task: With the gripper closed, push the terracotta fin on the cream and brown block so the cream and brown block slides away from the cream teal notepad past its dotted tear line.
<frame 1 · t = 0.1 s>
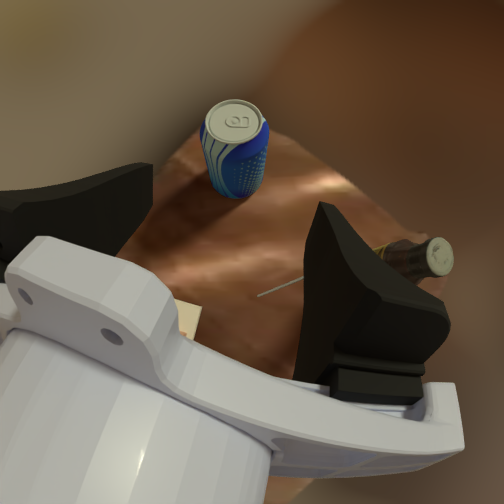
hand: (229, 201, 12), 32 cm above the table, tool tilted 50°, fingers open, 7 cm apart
beer can: (236, 178, 46), on the table
sauce bottle: (365, 274, 44), on the table
cream and brown block: (152, 313, 40), point 2 cm above the table, slide at 0.0 cm
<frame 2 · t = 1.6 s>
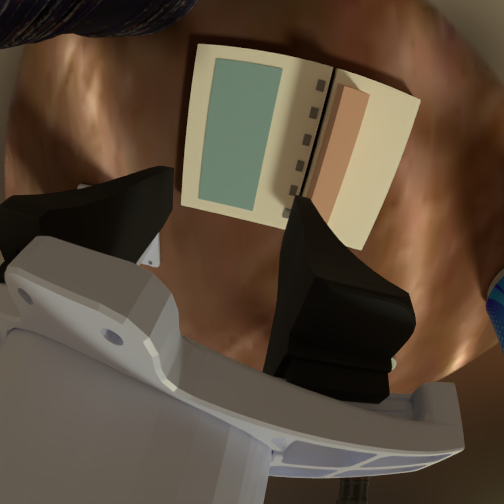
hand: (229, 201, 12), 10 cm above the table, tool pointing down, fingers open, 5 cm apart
cream teal notepad: (250, 135, 20), on the table
sauce bottle: (358, 382, 38), on the table
cream and brown block: (357, 172, 18), point 2 cm above the table, slide at 0.0 cm
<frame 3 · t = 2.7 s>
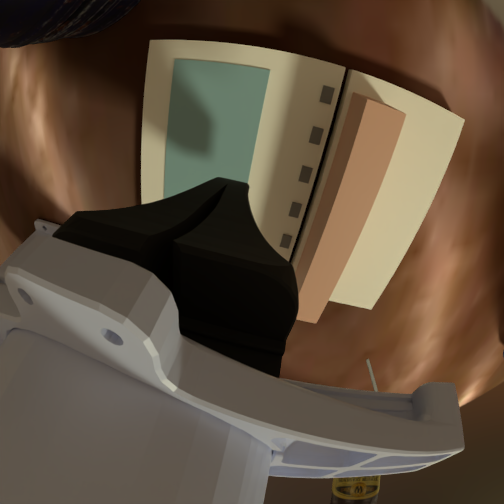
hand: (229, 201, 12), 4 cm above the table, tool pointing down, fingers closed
cream teal notepad: (226, 165, 15), on the table
sauce bottle: (358, 421, 33), on the table
cream and brown block: (374, 222, 13), point 2 cm above the table, slide at 0.0 cm
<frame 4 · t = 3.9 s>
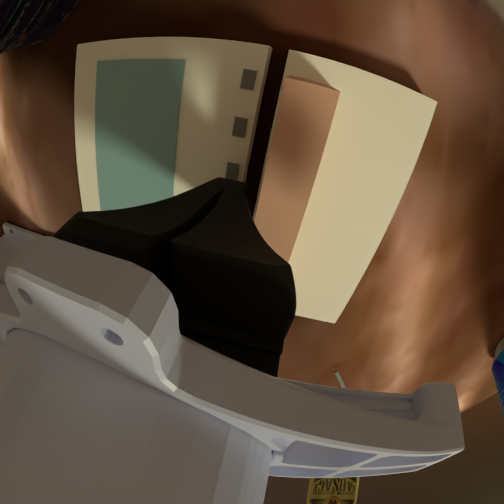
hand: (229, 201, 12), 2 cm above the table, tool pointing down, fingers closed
cream teal notepad: (158, 166, 13), on the table
sauce bottle: (338, 431, 32), on the table
cream and brown block: (324, 227, 12), point 2 cm above the table, slide at 0.4 cm, touching gripper
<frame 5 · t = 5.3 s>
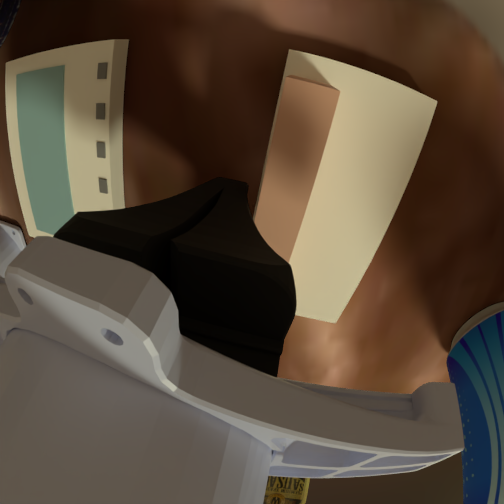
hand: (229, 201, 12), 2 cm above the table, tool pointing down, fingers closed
beer can: (485, 329, 17), on the table
cream teal notepad: (64, 153, 14), on the table
sauce bottle: (291, 426, 32), on the table
cream and brown block: (324, 227, 12), point 2 cm above the table, slide at 7.1 cm, touching gripper
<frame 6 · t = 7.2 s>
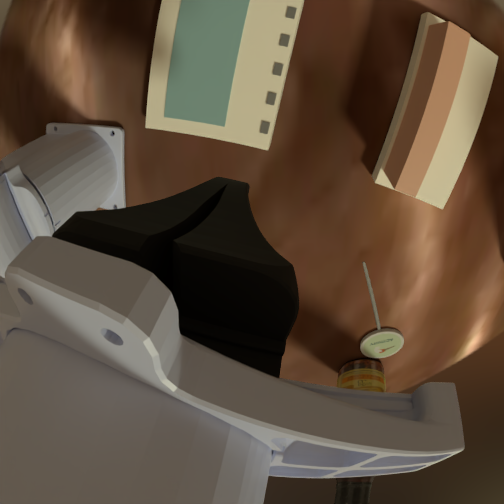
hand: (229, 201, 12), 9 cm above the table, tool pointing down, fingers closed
cream teal notepad: (222, 45, 15), on the table
sauce bottle: (359, 367, 33), on the table
cream and brown block: (449, 117, 13), point 2 cm above the table, slide at 7.2 cm
dial probe thermometer: (376, 311, 28), on the table
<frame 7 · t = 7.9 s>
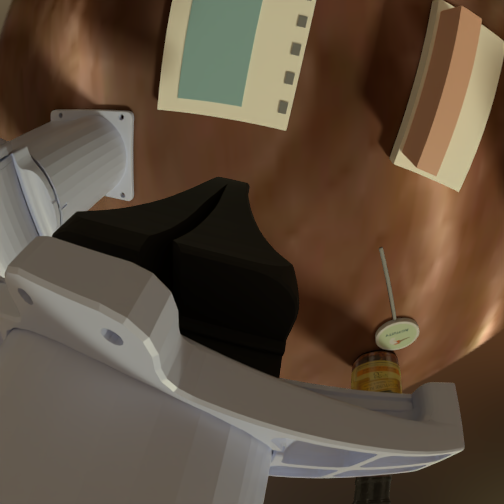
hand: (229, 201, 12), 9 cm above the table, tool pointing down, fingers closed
cream teal notepad: (238, 27, 14), on the table
sauce bottle: (373, 360, 32), on the table
cream and brown block: (464, 98, 12), point 2 cm above the table, slide at 7.2 cm
dial probe thermometer: (391, 301, 27), on the table
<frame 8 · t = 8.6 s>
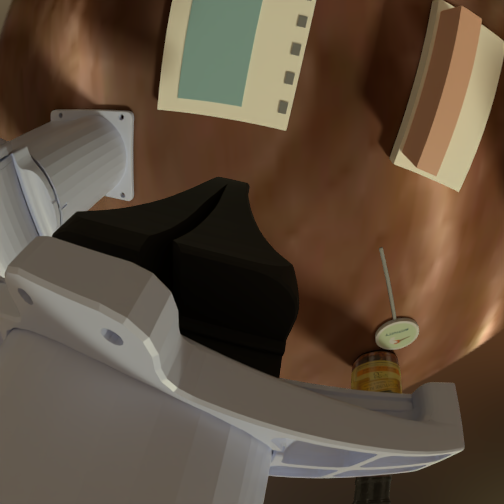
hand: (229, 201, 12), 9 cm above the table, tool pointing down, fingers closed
cream teal notepad: (238, 27, 14), on the table
sauce bottle: (373, 360, 32), on the table
cream and brown block: (464, 98, 12), point 2 cm above the table, slide at 7.2 cm
dial probe thermometer: (391, 301, 27), on the table
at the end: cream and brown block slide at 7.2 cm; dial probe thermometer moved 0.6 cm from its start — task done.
